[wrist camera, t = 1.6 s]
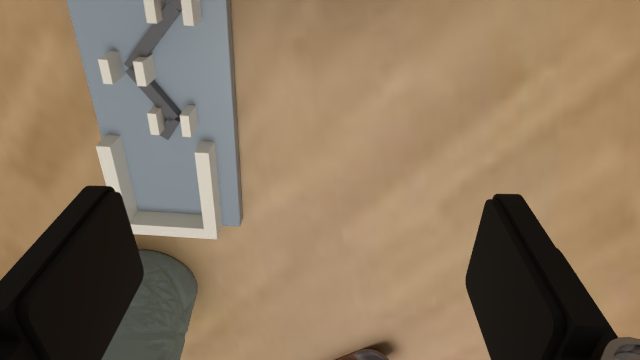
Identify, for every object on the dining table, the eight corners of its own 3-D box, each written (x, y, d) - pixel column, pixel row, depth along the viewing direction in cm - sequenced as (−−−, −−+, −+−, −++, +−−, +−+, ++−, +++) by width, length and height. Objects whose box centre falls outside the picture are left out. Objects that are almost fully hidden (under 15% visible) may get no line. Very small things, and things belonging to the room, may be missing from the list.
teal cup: (155, 228, 38) (88, 345, 28) (228, 295, 42) (194, 416, 32) (81, 271, 41) (-1, 389, 31) (156, 329, 46) (105, 449, 35)
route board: (65, -50, 26) (36, -46, 23) (227, -40, 26) (216, -34, 23) (128, 210, 37) (112, 232, 34) (242, 217, 37) (235, 240, 34)
